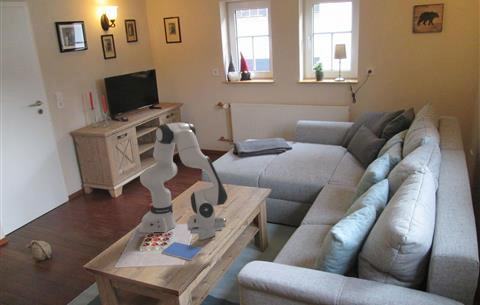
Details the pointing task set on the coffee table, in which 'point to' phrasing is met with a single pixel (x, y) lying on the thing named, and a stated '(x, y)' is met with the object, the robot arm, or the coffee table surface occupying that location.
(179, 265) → the coffee table surface
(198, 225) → the robot arm
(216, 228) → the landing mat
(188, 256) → the tablet computer
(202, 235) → the photo printer
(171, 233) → the coffee table surface
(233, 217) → the coffee table surface
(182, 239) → the coffee table surface
